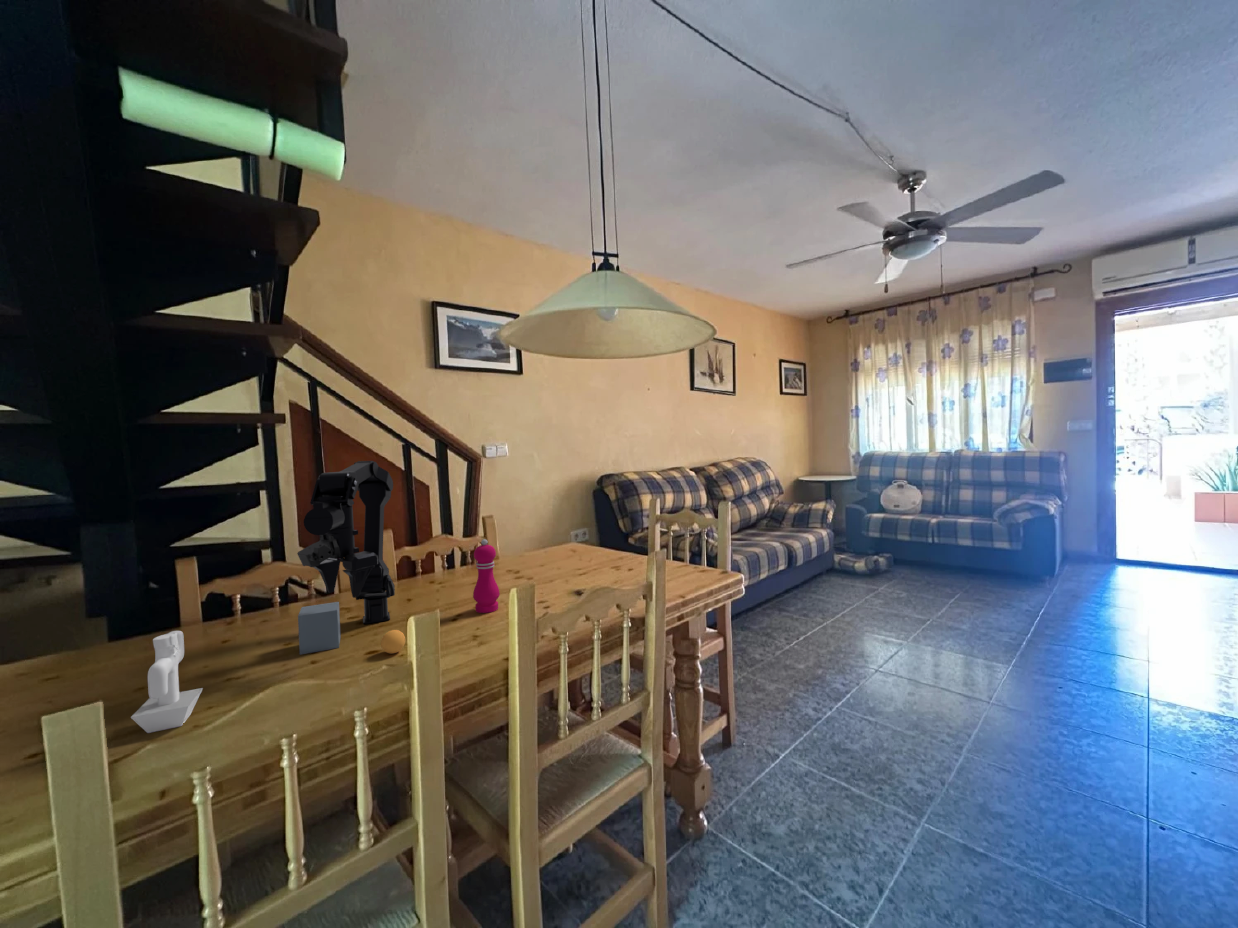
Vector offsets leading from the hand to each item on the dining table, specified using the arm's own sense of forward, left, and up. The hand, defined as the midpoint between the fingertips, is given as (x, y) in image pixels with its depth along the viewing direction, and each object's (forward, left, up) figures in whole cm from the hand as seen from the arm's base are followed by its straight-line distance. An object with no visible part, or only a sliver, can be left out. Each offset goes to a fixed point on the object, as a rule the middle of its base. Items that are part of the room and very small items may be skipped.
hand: (343, 594), depth 114 cm
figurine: (+21, -25, -13) cm, 35 cm away
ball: (+8, +10, -10) cm, 16 cm away
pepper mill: (-12, +35, -13) cm, 39 cm away
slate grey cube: (-6, -5, -13) cm, 15 cm away
